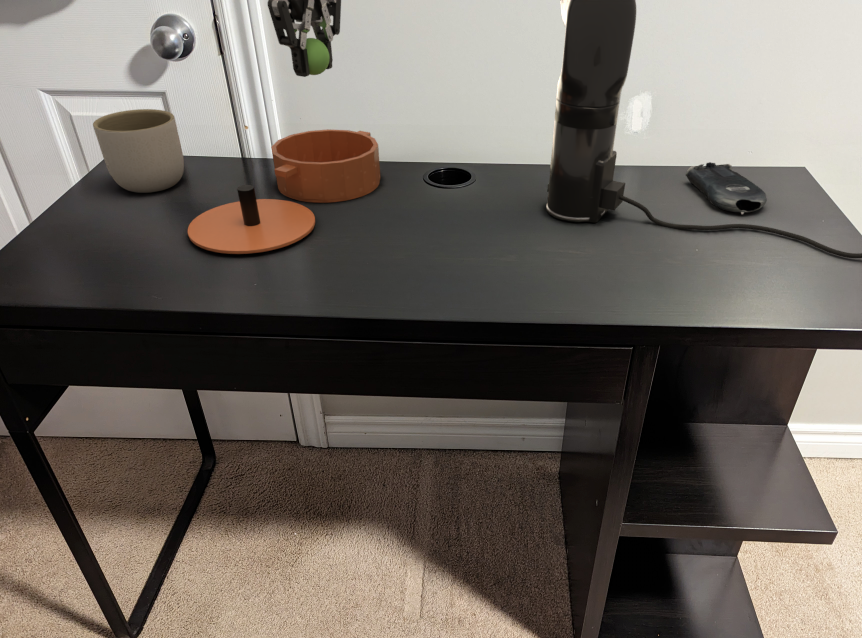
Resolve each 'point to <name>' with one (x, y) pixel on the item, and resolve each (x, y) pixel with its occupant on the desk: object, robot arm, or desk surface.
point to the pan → (326, 165)
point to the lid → (251, 224)
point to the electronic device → (726, 187)
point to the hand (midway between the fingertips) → (314, 71)
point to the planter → (141, 149)
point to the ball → (317, 56)
